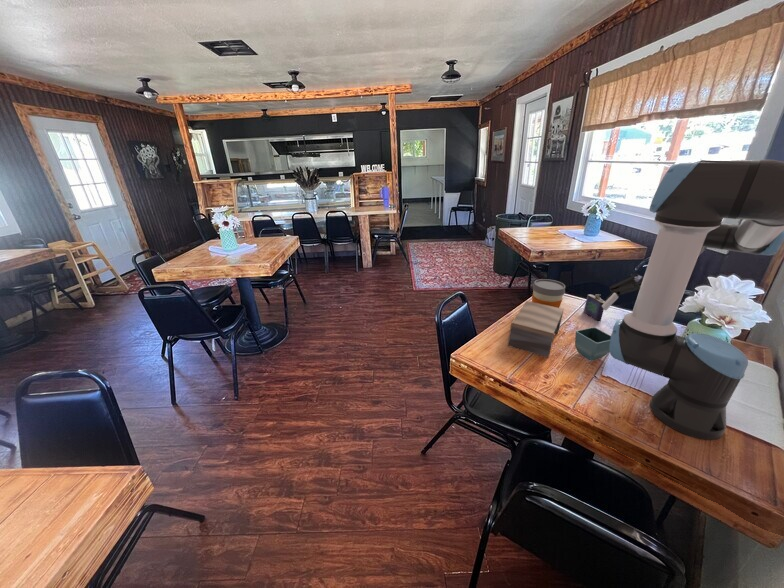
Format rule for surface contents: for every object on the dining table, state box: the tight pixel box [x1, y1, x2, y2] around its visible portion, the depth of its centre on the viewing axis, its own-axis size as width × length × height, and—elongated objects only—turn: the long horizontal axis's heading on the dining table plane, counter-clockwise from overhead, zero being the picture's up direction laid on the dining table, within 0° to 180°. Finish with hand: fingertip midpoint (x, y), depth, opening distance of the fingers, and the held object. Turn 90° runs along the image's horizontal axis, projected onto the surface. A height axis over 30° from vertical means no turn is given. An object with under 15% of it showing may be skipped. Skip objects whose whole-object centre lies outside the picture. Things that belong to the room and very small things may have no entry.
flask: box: [582, 293, 606, 322], centre depth 136 cm, size 9×3×11 cm, turn 9°
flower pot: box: [574, 326, 611, 362], centre depth 110 cm, size 9×9×9 cm
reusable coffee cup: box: [531, 278, 566, 308], centre depth 137 cm, size 13×13×15 cm
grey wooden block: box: [507, 300, 564, 359], centre depth 121 cm, size 22×14×10 cm, turn 145°
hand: (621, 316), depth 109 cm, fingers open, 13 cm apart
